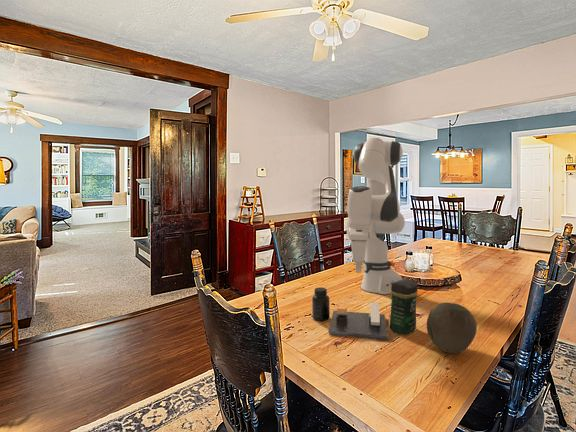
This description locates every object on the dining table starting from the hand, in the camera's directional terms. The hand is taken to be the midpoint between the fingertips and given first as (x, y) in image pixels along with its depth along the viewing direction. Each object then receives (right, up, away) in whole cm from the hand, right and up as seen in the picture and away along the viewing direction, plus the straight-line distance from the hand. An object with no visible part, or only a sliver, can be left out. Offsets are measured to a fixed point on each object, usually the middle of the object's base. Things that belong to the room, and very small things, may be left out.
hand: (358, 268), depth 119 cm
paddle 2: (+6, -18, +1) cm, 19 cm away
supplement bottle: (-13, -21, +10) cm, 27 cm away
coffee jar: (+16, -22, -1) cm, 27 cm away
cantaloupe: (+26, -24, -14) cm, 38 cm away
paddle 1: (-6, -17, +4) cm, 19 cm away
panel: (0, -22, +3) cm, 22 cm away
